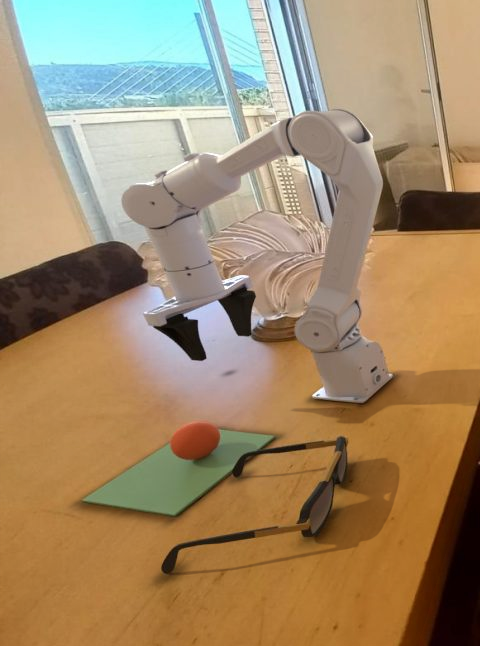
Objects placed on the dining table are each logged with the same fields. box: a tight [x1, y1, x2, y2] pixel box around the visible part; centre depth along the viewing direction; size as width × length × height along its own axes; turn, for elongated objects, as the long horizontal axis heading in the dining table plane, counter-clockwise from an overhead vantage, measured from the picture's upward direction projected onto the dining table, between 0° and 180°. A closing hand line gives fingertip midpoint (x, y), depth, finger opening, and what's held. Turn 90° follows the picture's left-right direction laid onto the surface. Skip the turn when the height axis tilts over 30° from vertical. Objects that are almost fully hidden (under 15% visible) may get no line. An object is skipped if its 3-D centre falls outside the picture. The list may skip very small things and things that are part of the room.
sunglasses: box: [160, 435, 349, 575], centre depth 55 cm, size 14×15×5 cm
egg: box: [169, 420, 220, 460], centre depth 64 cm, size 5×5×5 cm
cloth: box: [81, 428, 276, 517], centre depth 63 cm, size 14×14×1 cm
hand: (223, 346), depth 74 cm, fingers open, 7 cm apart
